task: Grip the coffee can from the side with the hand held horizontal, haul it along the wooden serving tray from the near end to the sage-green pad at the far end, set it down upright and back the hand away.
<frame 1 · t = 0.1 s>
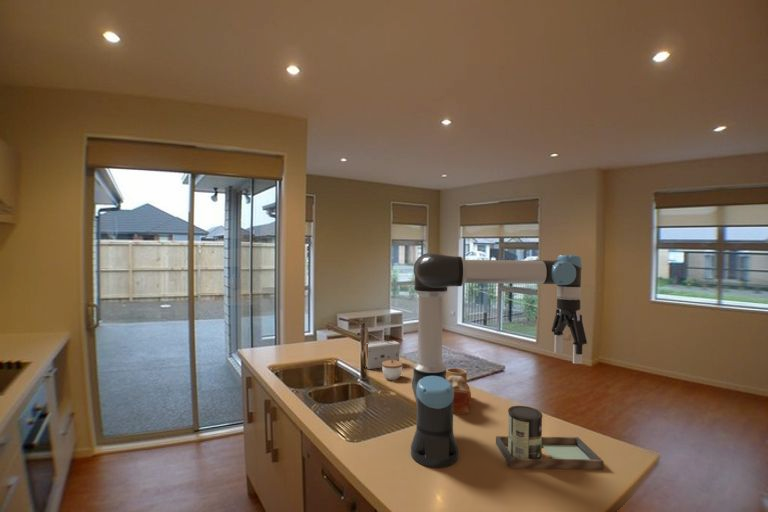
hand: (567, 357, 132), 28 cm above the worktop, tool pointing down, fingers open, 13 cm apart
lidded jar: (392, 378, 192), on the worktop
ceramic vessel: (454, 405, 159), on the worktop
coffee can: (524, 456, 119), resting in wooden serving tray
wooden serving tray: (546, 455, 119), on the worktop
stereo radio cassette player: (381, 366, 212), on the worktop
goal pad: (567, 455, 119), resting in wooden serving tray
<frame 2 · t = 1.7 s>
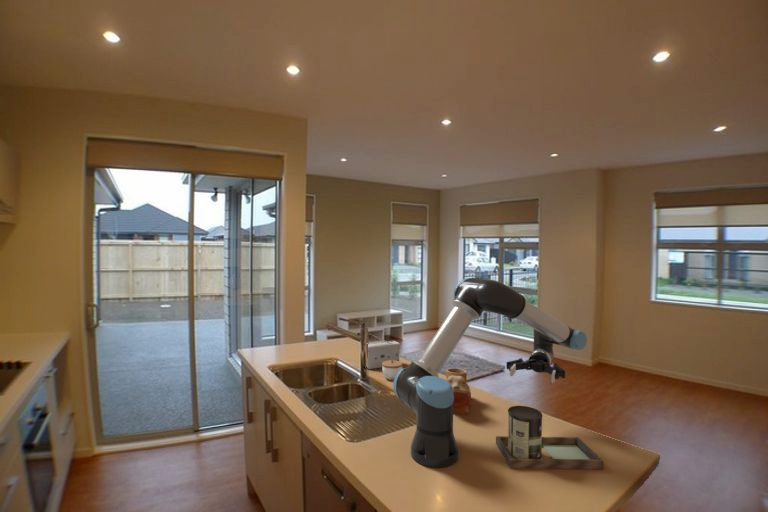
hand: (531, 375, 130), 22 cm above the worktop, tool horizontal, fingers open, 13 cm apart
nothing on the worktop moved.
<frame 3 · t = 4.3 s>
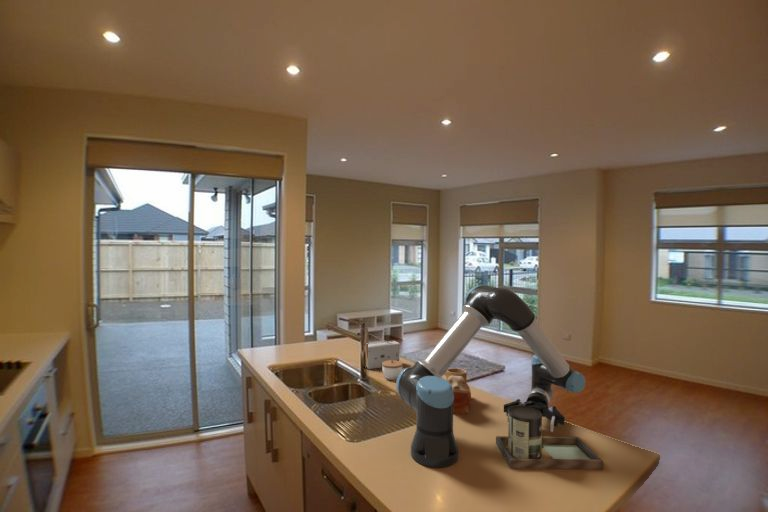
hand: (529, 423, 125), 8 cm above the worktop, tool horizontal, fingers open, 13 cm apart
nothing on the worktop moved.
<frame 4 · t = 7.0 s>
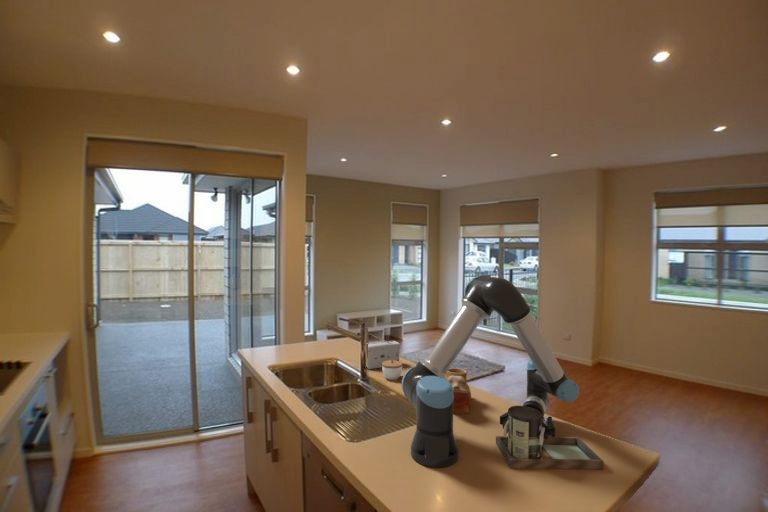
hand: (522, 436, 116), 8 cm above the worktop, tool horizontal, fingers closed on coffee can, 10 cm apart
coffee can: (524, 456, 119), resting in wooden serving tray, touching gripper
everything else where it was.
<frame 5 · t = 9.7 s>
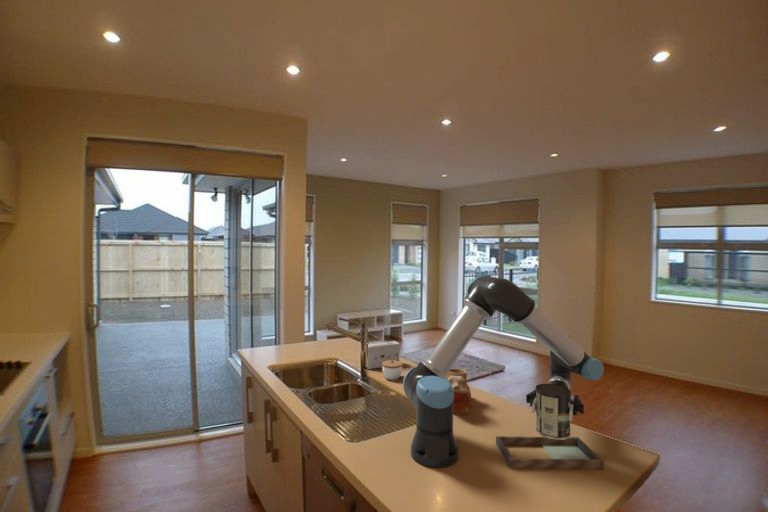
hand: (551, 412, 116), 15 cm above the worktop, tool horizontal, fingers closed on coffee can, 10 cm apart
coffee can: (552, 433, 120), point 7 cm above the worktop, touching gripper
everything else where it was.
when the fingers open (9 cm above the worktop, at t = 12.6 s): coffee can drops 1 cm, resting on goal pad.
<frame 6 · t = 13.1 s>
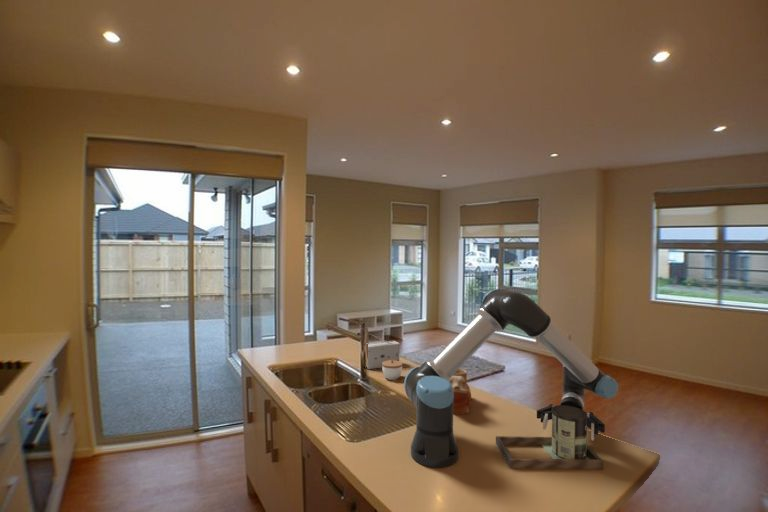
hand: (567, 430, 116), 9 cm above the worktop, tool horizontal, fingers open, 13 cm apart
coffee can: (568, 455, 119), resting on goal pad
everything else where it was.
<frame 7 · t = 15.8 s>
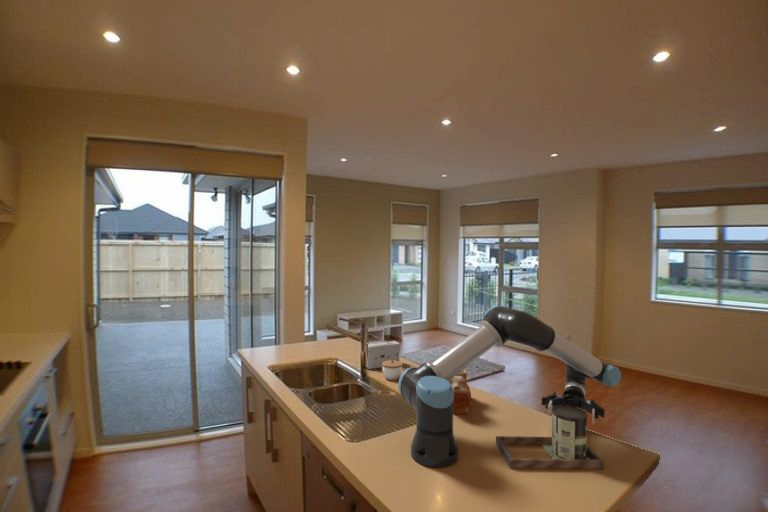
hand: (570, 415, 127), 10 cm above the worktop, tool horizontal, fingers open, 13 cm apart
nothing on the worktop moved.
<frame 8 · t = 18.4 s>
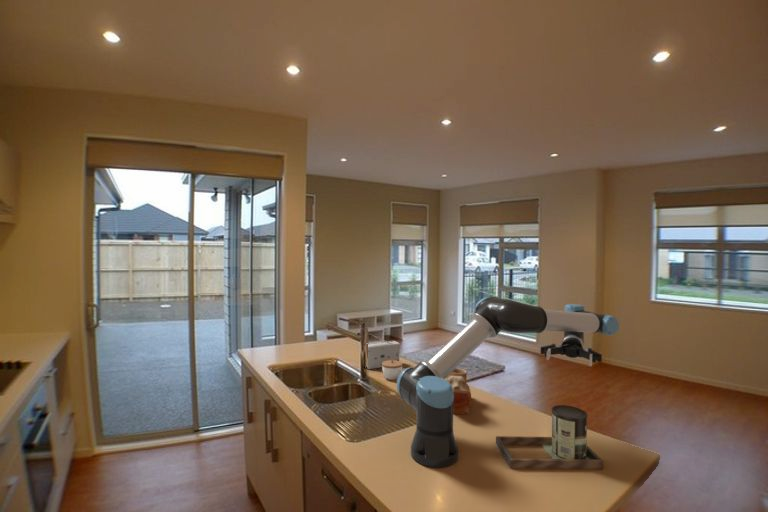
hand: (568, 359, 130), 28 cm above the worktop, tool horizontal, fingers open, 13 cm apart
nothing on the worktop moved.
at the end: coffee can 0.2 cm from the target spot, resting on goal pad; coffee can tilted 0°; the gripper is holding nothing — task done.
